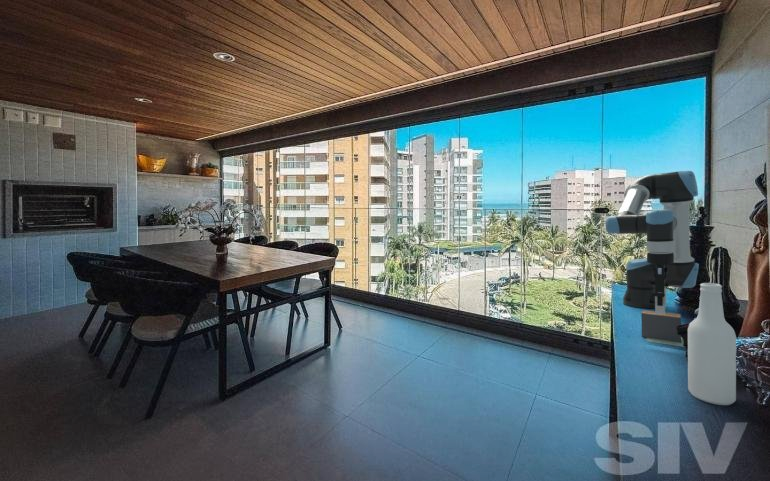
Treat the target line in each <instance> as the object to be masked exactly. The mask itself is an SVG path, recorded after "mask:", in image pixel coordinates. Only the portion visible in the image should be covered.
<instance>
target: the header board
mask: <svg viewBox="0 0 770 481" xmlns="http://www.w3.org/2000/svg"><path fill="white" fill-rule="evenodd" d="M645 342H650V343H651V342H652V343H658V344H664V345H670V346H675V347H682V348H683V347H684V346H683V343H684V341H683V339H682V337H681V343H680V342H673V341H667V340H660V339H654V338H647V337H646V341H645ZM648 345H650V346H652V344H649V343H648ZM655 346H657V347H658V345H656V344H655ZM661 347H662V348H664V346H663V345H662V346H661ZM667 348H669V349H670V347H667ZM684 348H685V347H684ZM673 349H676V348H674V347H673ZM679 350H682V349H679Z"/></svg>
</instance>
